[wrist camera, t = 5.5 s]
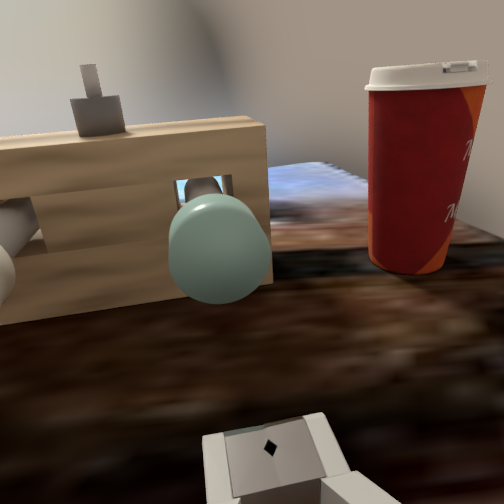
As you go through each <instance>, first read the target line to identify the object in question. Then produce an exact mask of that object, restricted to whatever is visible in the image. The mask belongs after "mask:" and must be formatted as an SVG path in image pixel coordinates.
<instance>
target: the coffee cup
mask: <svg viewBox="0 0 504 504" xmlns="http://www.w3.org/2000/svg"><path fill="white" fill-rule="evenodd" d="M492 83H493V81H492V79H491V78H488V61H487V60H475V61H454V62H446V63H431V64H417V65H403V66H389V67H376V68H373V69H372V71H371V76H370V82H369V85H366V86H365V88H364V90H369V153H368V154H369V155H368V157H369V158H368V160H369V161H368V162H369V163H368V164H369V165H368V166H369V167H368V170H369V171H368V239H369V258H370V260H371V262H372V263H373V264H374V265H376V266H377V267H379V268H381V269H383V270H386V271H389V272H393V273H397V274H404V275H423V274H429V273H433V272H435V271H437V270H439V269H440V268H441V267H442V266H443V263H444V260H445V257H446V253H447V249H448V246H449V242H450V238H451V234H452V230H453V225H454V221H455V217H456V213H457V209H458V205H459V200H460V196H461V192H462V187H463V183H464V179H465V175H466V171H467V166H468V162H469V158H470V153H471V149H472V145H473V141H474V136H475V132H476V128H477V124H478V119H479V115H480V110H481V106H482V102H483V98H484V94H485V89H486V85H487V84H492Z"/></svg>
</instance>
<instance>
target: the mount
mask: <svg viewBox="0 0 504 504" xmlns="http://www.w3.org/2000/svg"><path fill="white" fill-rule="evenodd" d="M125 128H126V131H125V132H123V133H118V134H113V135H105V136H95V137H80V136H79V134H78V130H75V131H64V132H52V133H40V134H30V135H18V136H6V137H0V205H1V204H3V203H4V202H5V201H7V200H8V199H13V198H22V197H30V198H31V201H32V204H33V207H34V211H35V214H36V217H37V220H38V223H39V226H40V229H39V230H38V231H37V232H36V233H35V235H34V236H33V237H32V238H31V239H30V240H29V241H28V242H27V243H26V245H25V246H24V247H23V248H22V249H21V250H20V251H19V252H18V253H17V255H16V256H15V257H14V258H13V259H12V262H13V265H14V268H15V274H16V281H15V286H14V288H13V291H12V293H11V294H10V296H9V297H8V298H7V300H6V301H5V302H4V304H3V305H2V306H1V308H0V325H6V324H13V323H19V322H26V321H32V320H39V319H45V318H52V317H58V316H65V315H71V314H78V313H84V312H91V311H97V310H104V309H110V308H117V307H123V306H130V305H136V304H143V303H149V302H156V301H162V300H169V299H175V298H182V297H188V295H186V294H185V293H184V292H183V291H182V290H181V289H180V288H179V287H178V286H177V285H176V283H175V282H174V280H173V278H172V276H171V273H170V269H169V262H168V257H169V231H170V226H171V223H172V221H173V219H174V217H175V215H176V214H177V212H178V211H179V210H180V209H181V208H182V206H184V205H185V204H186V203H181V204H180V202H179V196H178V189H177V183H176V180H185V179H194V178H203V177H212V176H221V177H222V187H223V194H224V195H229V196H231V197H234V198H236V199H238V200H240V201H241V202H243V203H244V204H245V205H246V206H247V207H248V208H249V209H250V210H251V211H252V213H253V215H254V216H255V218H256V220H257V221H258V223H259V225H260V226H261V228H262V230H263V231H264V233H265V234H266V236H267V239H268V241H269V244H270V250H271V261H270V266H269V269H268V272H267V274H266V276H265V278H264V279H263V281H262V282H261V284H260V285H266V284H273V269H272V249H271V229H270V208H269V188H268V168H267V148H266V128H265V125H264V124H262V123H260V122H258V121H255V120H253V119H251V118H249V117H247V116H245V115H244V116H234V117H221V118H210V119H200V120H188V121H176V122H165V123H154V124H142V125H131V126H125ZM260 285H259V286H260Z"/></svg>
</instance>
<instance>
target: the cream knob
mask: <svg viewBox="0 0 504 504" xmlns="http://www.w3.org/2000/svg"><path fill="white" fill-rule="evenodd" d="M39 229H40V226H39V223H38V220H37V217H36V214H35V211H34V207H33V204H32V201H31V198H30V197H22V198H13V199H8V200H7V201H5V202H4V203H3V204H1V205H0V308H1V306H2V305H3V304H4V302H5V301H6V300H7V298H8V297H9V296H10V294H11V293H12V291H13V288H14V286H15V281H16V274H15V268H14V265H13V262H12V259H13V258H14V257H15V256H16V255H17V253H18V252H19V251H20V250H21V249H22V248H23V247H24V246H25V245H26V243H27V242H28V241H29V240H30V239H31V238H32V237H33V236H34V235H35V233H36V232H37V231H38V230H39Z"/></svg>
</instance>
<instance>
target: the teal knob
mask: <svg viewBox="0 0 504 504" xmlns="http://www.w3.org/2000/svg"><path fill="white" fill-rule="evenodd" d="M184 193H185V202H186V204H185V205H184V206H182V208H181V209H180V210H179V211H178V212H177V214H176V215H175V217H174V219H173V221H172V223H171V226H170V231H169V257H168V262H169V269H170V273H171V276H172V278H173V280H174V282H175V283H176V285H177V286H178V287H179V288H180V289H181V290H182V291H183V292H184V293H185V294H186V295H188V296H189V297H191V298H193V299H195V300H197V301H200V302H203V303H208V304H226V303H231V302H234V301H237V300H240V299H242V298H244V297H246V296H247V295H249V294H250V293H251V292H253V291H254V290H255V289H256V288H257V287H258V286H259V285H260V284H261V282H262V281H263V279H264V278H265V276H266V274H267V272H268V269H269V266H270V261H271V250H270V244H269V241H268V239H267V236H266V234H265V233H264V231H263V230H262V228H261V226H260V225H259V223H258V221H257V220H256V218H255V216H254V215H253V213H252V211H251V210H250V209H249V208H248V207H247V206H246V205H245V204H244V203H243V202H241V201H240V200H238V199H236V198H234V197H231V196H229V195H224V194H223V193H222V191H221V189H220V186H219V184H218V182H217V181H216V179H215V178H214V177H203V178H194V179H189V180H188V181H187V182H186V185H185V189H184Z"/></svg>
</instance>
